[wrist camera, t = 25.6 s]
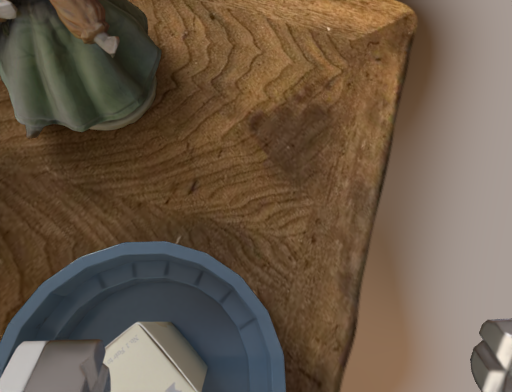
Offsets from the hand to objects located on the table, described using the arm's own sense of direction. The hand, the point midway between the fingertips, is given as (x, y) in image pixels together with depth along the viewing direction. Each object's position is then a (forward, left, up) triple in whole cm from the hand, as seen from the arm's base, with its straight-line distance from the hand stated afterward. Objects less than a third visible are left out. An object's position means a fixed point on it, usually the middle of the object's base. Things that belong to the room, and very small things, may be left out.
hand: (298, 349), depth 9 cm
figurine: (+13, -22, -23) cm, 34 cm away
